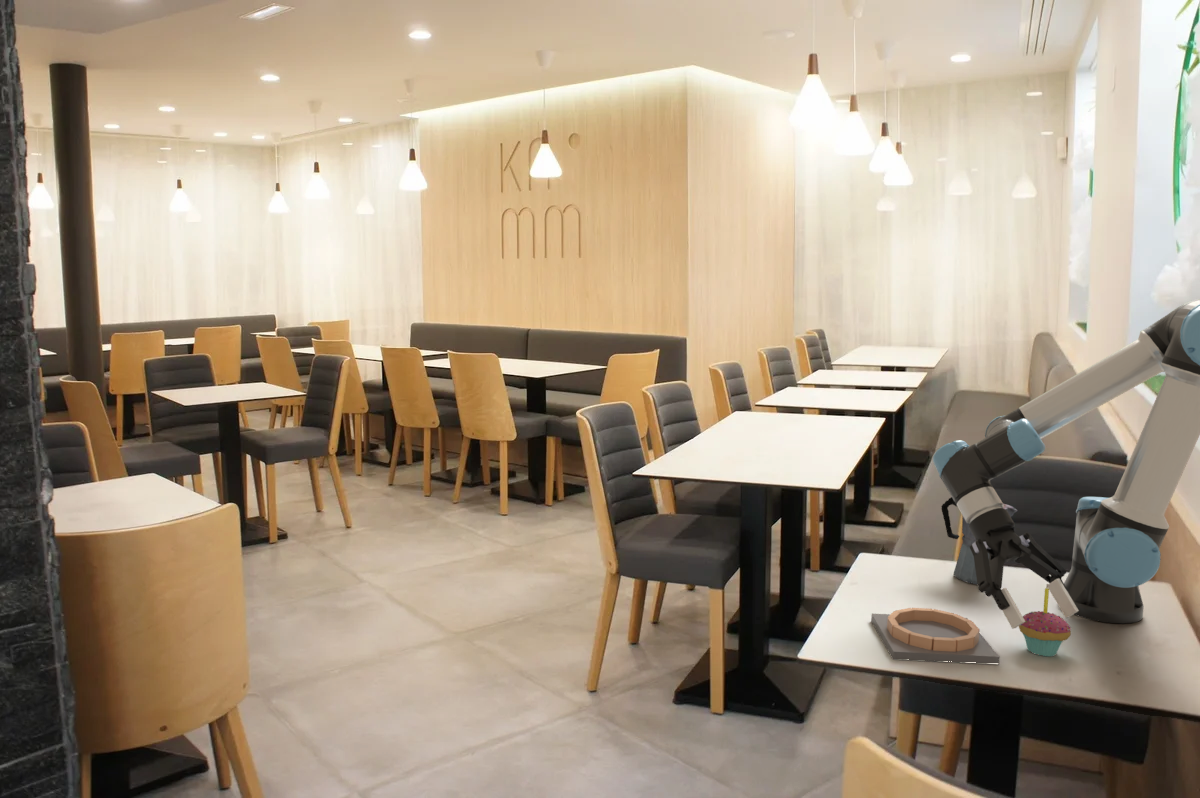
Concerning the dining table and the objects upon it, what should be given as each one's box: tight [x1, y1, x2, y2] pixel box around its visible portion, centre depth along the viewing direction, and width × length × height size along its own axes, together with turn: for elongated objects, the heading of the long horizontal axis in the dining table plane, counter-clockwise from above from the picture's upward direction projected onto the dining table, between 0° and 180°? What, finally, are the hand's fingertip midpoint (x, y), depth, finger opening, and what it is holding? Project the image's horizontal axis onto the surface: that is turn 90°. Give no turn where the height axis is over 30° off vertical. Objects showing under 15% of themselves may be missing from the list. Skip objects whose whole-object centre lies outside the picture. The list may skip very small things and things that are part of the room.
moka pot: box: [940, 496, 1018, 585], centre depth 207 cm, size 10×15×20 cm, turn 78°
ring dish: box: [870, 607, 1001, 664], centre depth 173 cm, size 18×18×4 cm
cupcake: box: [1018, 583, 1072, 657], centre depth 169 cm, size 9×8×12 cm
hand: (1046, 619), depth 168 cm, fingers open, 13 cm apart
